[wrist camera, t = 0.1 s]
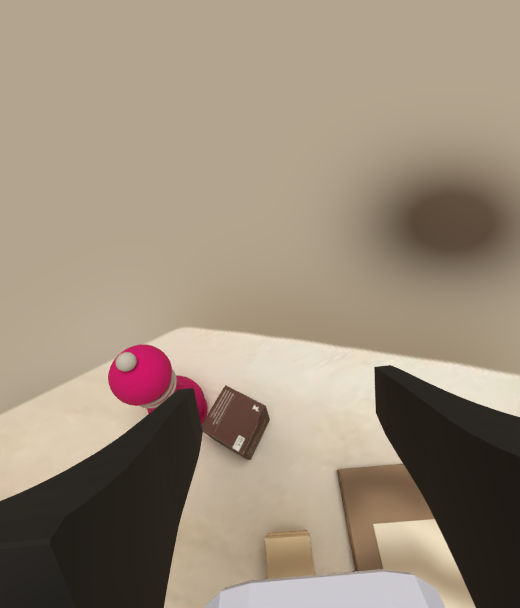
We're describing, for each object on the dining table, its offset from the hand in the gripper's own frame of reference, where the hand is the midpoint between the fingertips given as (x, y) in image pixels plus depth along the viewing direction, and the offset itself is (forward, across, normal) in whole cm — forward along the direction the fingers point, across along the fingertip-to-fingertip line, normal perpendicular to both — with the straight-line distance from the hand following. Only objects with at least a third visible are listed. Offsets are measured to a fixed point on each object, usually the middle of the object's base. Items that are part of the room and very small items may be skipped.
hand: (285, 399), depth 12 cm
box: (+25, +6, +21) cm, 33 cm away
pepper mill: (+28, +14, +18) cm, 36 cm away
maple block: (+15, +2, +30) cm, 33 cm away
